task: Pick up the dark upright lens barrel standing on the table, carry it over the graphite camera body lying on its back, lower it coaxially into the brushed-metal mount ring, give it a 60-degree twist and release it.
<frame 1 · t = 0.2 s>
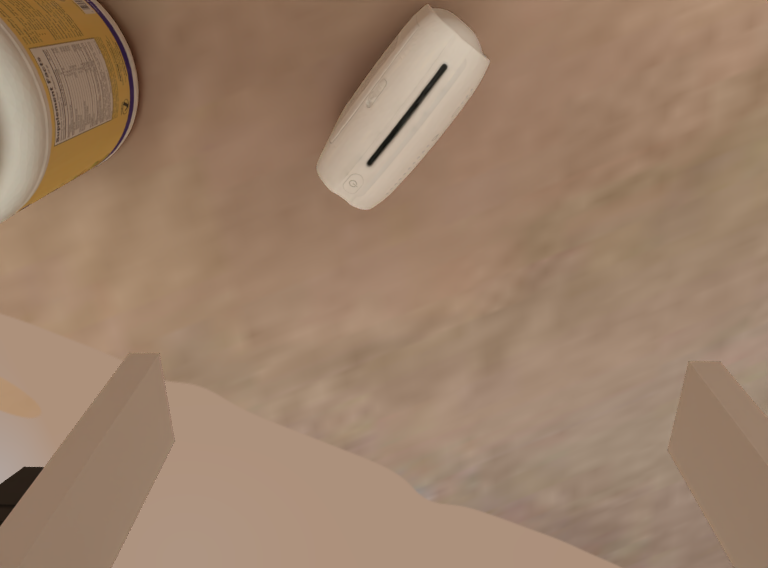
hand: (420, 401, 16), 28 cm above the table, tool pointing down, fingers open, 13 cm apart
photo printer: (401, 85, 40), on the table
supplement tub: (51, 73, 40), on the table
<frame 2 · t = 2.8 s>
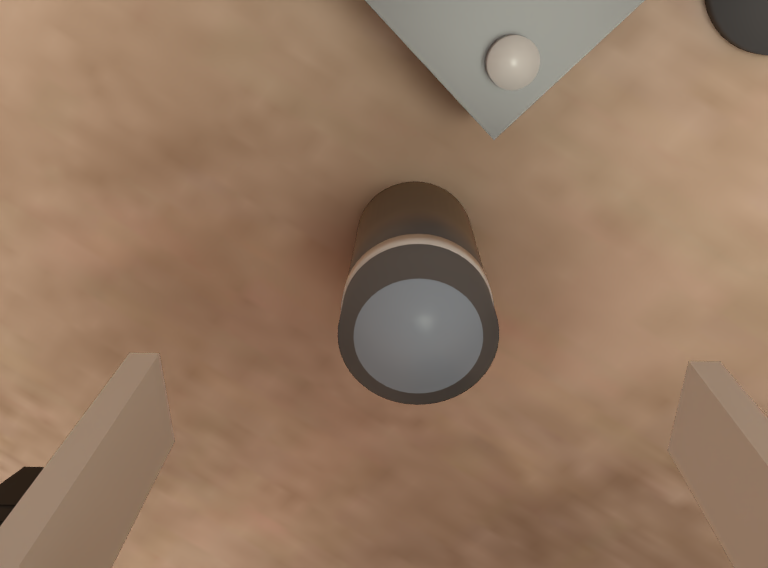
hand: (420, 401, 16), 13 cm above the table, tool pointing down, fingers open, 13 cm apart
lens: (414, 237, 28), on the table
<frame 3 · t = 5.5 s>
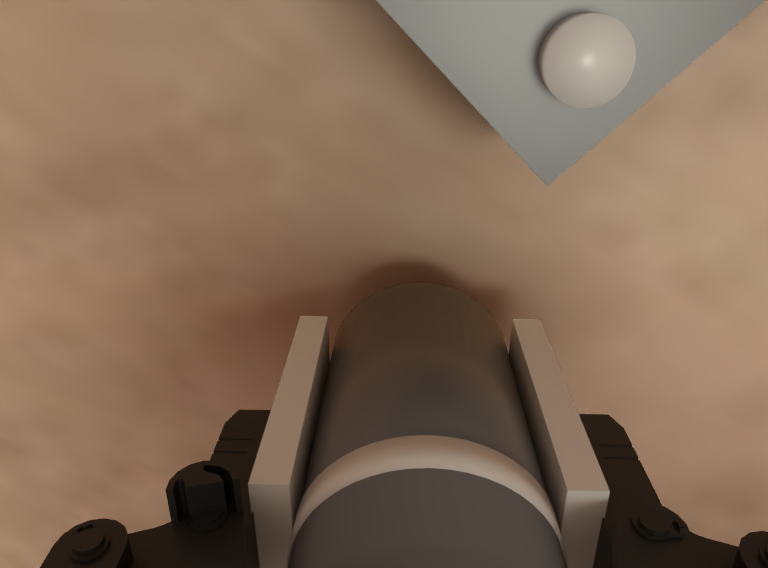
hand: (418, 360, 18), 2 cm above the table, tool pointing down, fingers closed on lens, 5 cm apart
lens: (419, 361, 18), point 2 cm above the table, touching gripper
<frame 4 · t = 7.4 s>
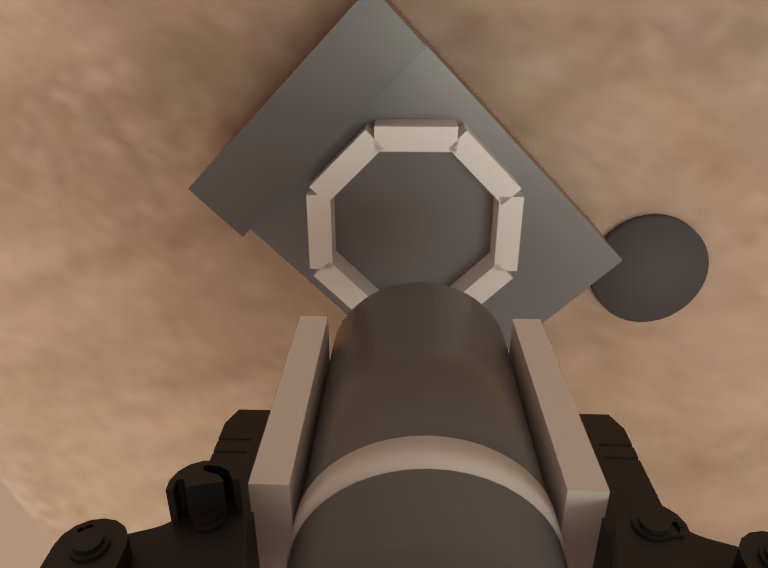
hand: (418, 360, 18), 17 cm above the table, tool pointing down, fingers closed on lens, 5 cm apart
camera body: (412, 189, 33), on the table
lens: (419, 361, 18), point 16 cm above the table, touching gripper
lens cap: (643, 264, 35), on the table
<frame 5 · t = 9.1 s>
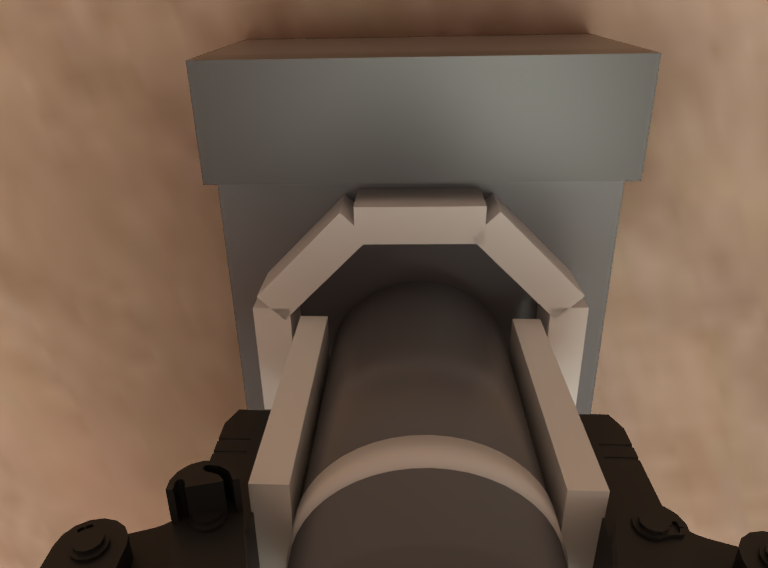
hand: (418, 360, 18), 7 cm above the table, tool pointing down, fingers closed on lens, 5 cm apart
camera body: (415, 266, 24), on the table
lens: (418, 360, 18), point 6 cm above the table, touching gripper
when the fingers open (7 cm above the table, at t = 11.4 s): lens drops 2 cm, resting on camera body.
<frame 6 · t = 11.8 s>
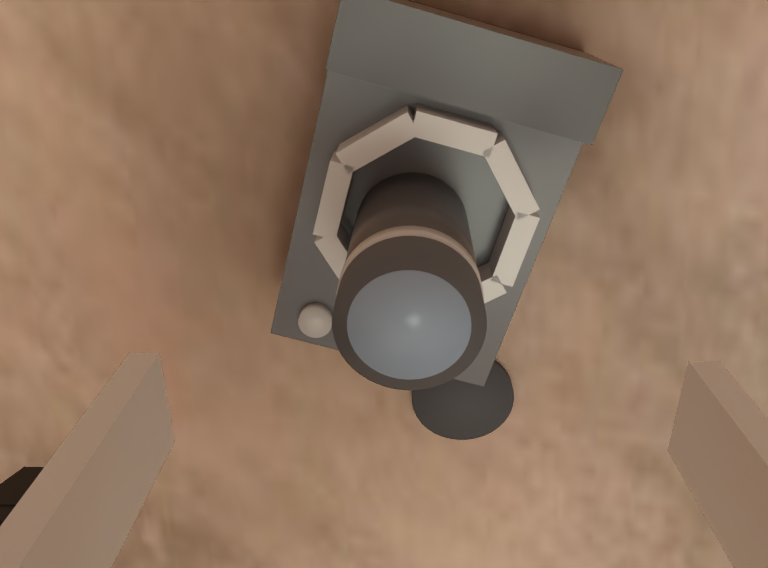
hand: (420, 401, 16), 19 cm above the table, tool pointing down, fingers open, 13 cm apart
camera body: (422, 181, 33), on the table
lens: (411, 226, 29), point 5 cm above the table, touching camera body
lens cap: (461, 389, 39), on the table
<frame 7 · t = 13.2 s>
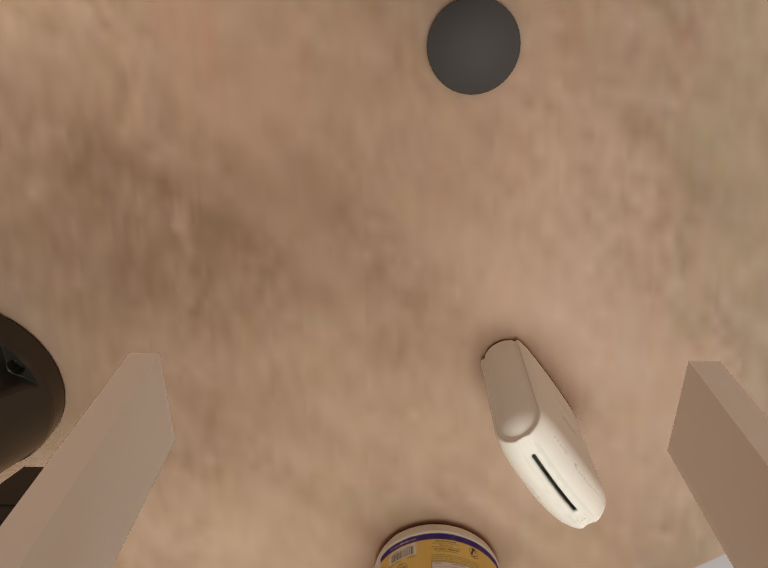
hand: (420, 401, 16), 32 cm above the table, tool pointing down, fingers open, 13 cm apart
photo printer: (527, 384, 53), on the table
lens cap: (472, 45, 42), on the table
supplement tub: (436, 562, 63), on the table
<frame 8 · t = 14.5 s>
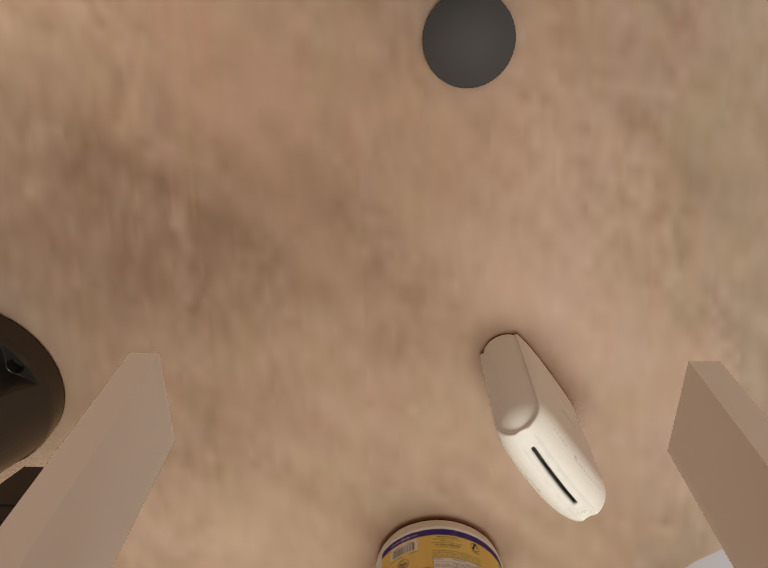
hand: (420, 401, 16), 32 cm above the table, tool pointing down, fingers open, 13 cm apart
photo printer: (526, 378, 53), on the table
lens cap: (467, 39, 42), on the table
supplement tub: (437, 558, 63), on the table
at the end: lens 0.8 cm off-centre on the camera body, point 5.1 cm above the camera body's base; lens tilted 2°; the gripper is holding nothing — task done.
